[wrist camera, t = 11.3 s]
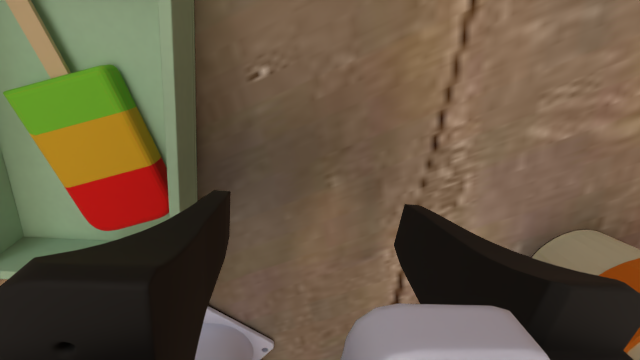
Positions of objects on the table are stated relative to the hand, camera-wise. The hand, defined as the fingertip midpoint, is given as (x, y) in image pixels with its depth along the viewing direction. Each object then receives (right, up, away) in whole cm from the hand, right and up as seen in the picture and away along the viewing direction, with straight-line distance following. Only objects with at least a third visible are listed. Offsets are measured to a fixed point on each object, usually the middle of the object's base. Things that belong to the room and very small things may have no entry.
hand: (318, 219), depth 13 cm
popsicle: (-14, +6, +6) cm, 16 cm away
